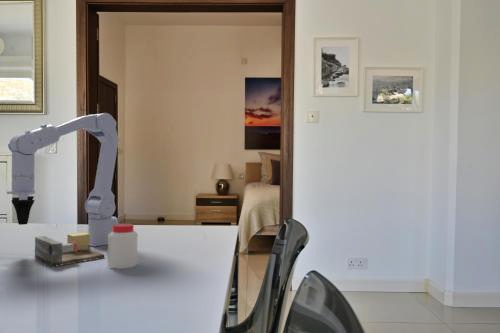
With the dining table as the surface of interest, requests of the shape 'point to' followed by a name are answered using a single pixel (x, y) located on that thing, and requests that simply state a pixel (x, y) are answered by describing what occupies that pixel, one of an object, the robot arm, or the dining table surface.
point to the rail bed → (60, 252)
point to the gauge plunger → (69, 247)
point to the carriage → (79, 240)
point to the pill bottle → (122, 246)
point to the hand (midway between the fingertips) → (22, 222)
